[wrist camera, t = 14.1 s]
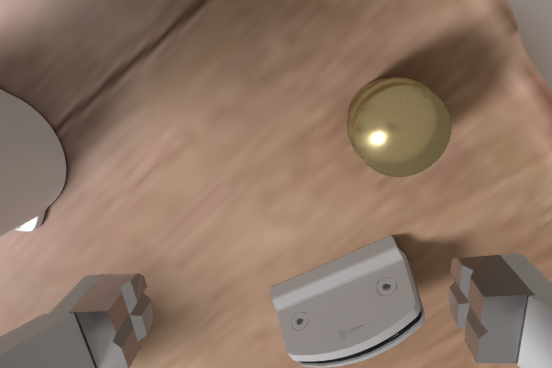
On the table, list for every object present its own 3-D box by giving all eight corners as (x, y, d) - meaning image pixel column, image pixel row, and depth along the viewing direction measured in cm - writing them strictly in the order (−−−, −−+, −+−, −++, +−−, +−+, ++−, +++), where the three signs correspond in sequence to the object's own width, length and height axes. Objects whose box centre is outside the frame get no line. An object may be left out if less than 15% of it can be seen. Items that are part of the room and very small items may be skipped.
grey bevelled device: (394, 233, 41) (432, 313, 33) (407, 256, 44) (444, 334, 36) (267, 288, 45) (274, 371, 38) (286, 306, 48) (296, 386, 40)
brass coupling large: (346, 159, 38) (354, 183, 32) (342, 79, 36) (349, 88, 29) (427, 152, 37) (452, 175, 31) (430, 69, 35) (458, 76, 28)
